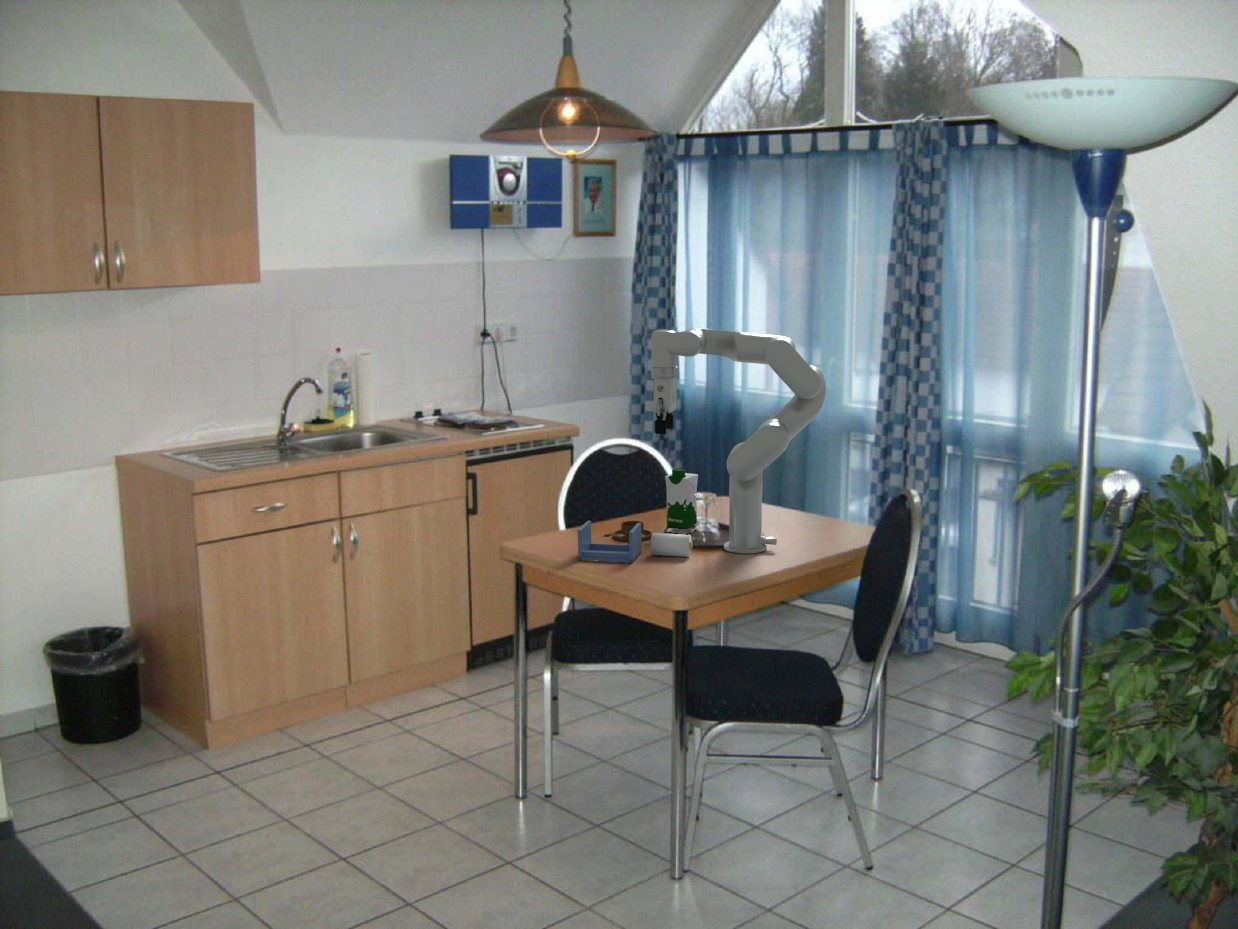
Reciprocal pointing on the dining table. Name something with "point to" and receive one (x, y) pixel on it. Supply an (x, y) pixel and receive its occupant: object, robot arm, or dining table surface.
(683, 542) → the roll
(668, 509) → the milk carton
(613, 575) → the dining table surface
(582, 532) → the holder
